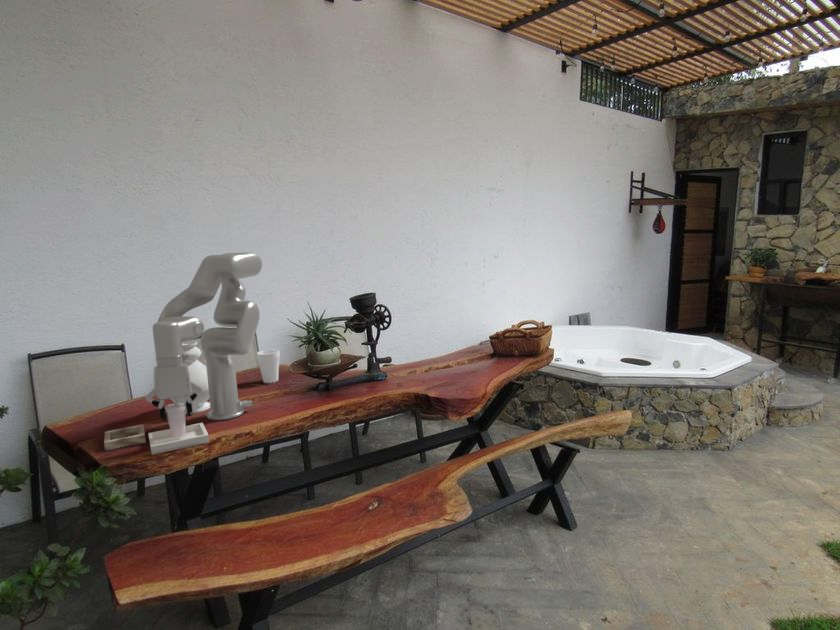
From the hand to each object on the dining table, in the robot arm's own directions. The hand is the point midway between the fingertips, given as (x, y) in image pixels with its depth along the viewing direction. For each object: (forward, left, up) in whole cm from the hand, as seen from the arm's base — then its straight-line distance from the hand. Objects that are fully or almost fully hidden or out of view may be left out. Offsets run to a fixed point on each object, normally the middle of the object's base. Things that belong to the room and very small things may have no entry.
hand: (176, 416), depth 163 cm
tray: (0, 0, -8) cm, 8 cm away
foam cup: (-42, -53, -8) cm, 68 cm away
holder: (+15, -11, -8) cm, 20 cm away
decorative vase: (-8, -33, -8) cm, 35 cm away
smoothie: (0, 0, -6) cm, 6 cm away
